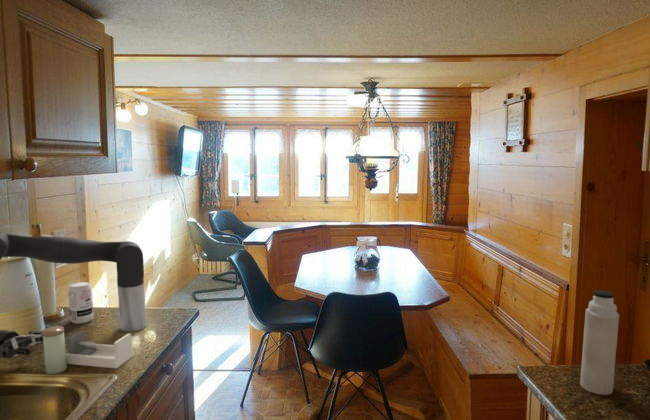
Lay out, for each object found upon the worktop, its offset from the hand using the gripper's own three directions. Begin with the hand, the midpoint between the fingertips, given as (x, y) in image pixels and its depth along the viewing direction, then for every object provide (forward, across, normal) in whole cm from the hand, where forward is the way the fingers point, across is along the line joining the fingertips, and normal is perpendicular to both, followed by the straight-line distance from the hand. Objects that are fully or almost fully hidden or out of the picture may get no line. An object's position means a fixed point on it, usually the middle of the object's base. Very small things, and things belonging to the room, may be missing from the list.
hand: (41, 345), depth 138 cm
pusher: (+8, +8, +6) cm, 13 cm away
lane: (+13, +8, +8) cm, 17 cm away
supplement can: (-17, +38, +8) cm, 42 cm away
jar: (+5, 0, +8) cm, 9 cm away
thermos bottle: (+165, +19, +8) cm, 167 cm away
